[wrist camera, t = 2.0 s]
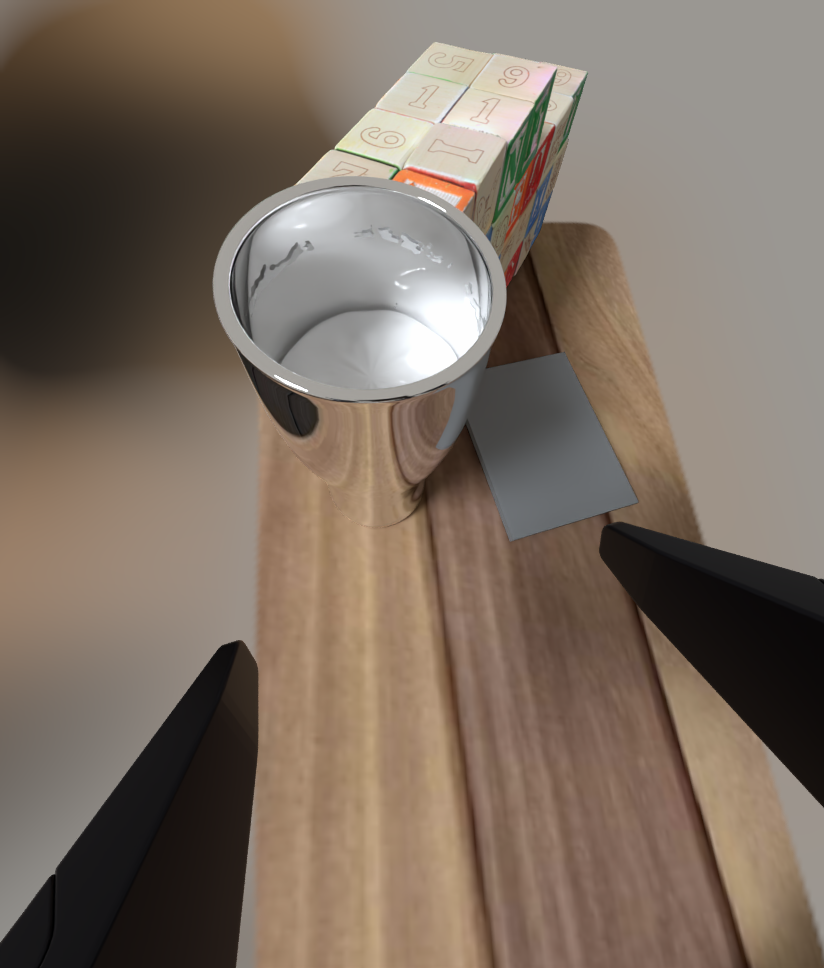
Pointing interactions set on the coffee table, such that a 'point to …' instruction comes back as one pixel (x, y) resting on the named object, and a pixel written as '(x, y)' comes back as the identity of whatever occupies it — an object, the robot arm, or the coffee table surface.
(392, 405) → the chrome tapered cup
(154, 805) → the robot arm
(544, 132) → the stack of blocks
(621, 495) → the charcoal mat
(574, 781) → the coffee table surface
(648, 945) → the coffee table surface
